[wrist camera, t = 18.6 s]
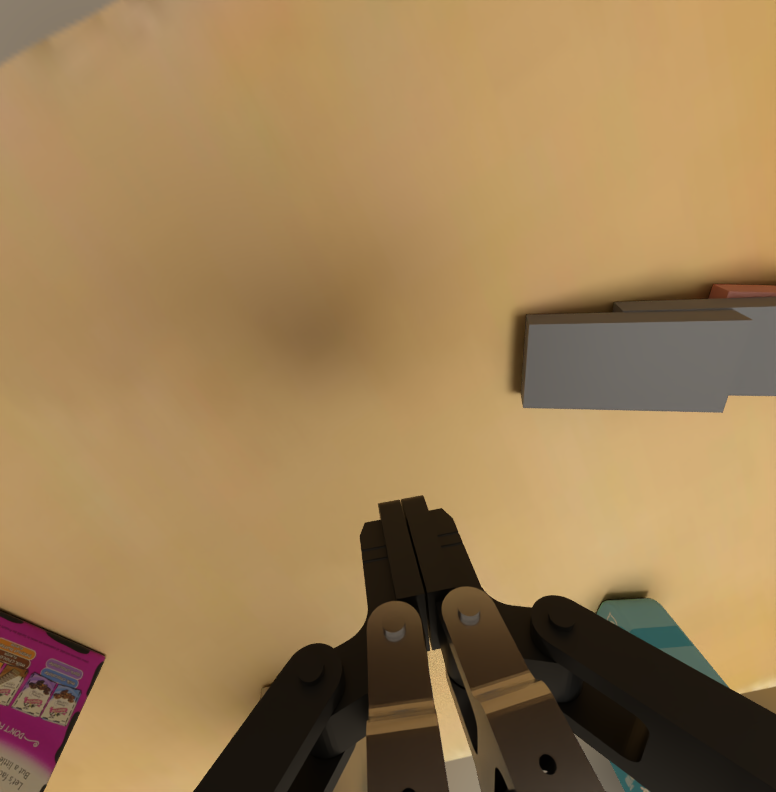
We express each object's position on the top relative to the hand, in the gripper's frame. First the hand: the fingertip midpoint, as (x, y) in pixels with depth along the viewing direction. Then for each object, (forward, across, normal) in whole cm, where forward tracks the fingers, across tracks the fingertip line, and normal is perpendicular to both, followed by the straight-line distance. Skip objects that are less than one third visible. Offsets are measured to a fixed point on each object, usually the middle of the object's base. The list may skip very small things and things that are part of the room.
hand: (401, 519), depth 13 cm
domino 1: (+10, -9, 0) cm, 14 cm away
